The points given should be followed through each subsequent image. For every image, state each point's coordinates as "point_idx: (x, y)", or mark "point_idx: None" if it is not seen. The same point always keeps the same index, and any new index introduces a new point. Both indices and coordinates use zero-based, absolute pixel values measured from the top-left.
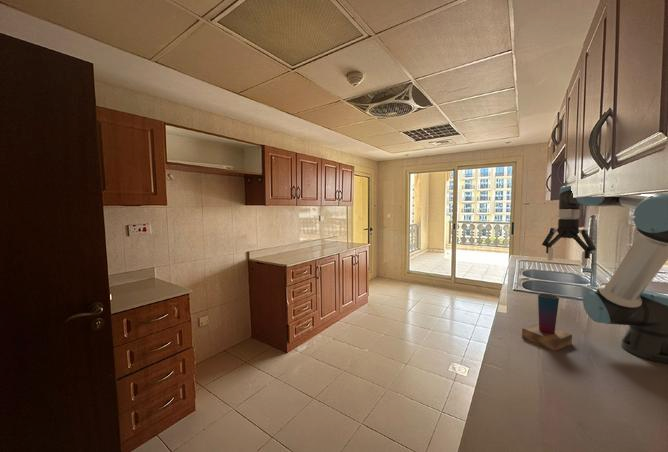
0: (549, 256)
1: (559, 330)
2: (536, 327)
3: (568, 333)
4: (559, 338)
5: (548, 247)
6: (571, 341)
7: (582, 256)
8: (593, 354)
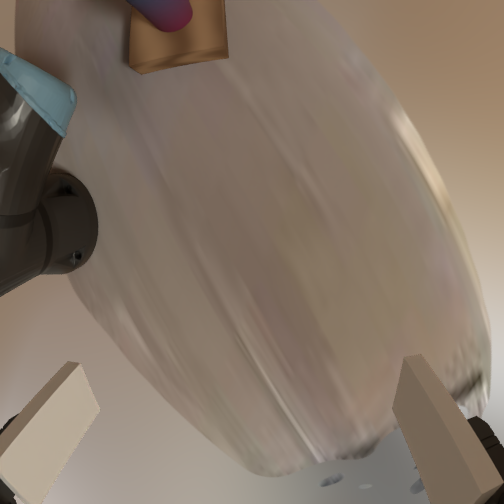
0: (425, 389)
1: (160, 56)
2: (204, 12)
3: (137, 62)
4: (133, 14)
5: (498, 490)
6: (137, 71)
7: (25, 422)
8: (96, 78)
